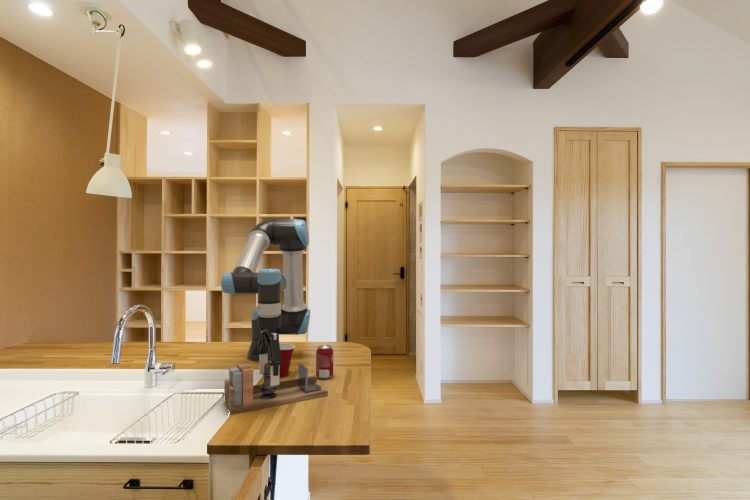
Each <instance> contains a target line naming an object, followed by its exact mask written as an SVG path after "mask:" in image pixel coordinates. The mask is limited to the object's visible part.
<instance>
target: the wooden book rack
mask: <svg viewBox="0 0 750 500" xmlns="http://www.w3.org/2000/svg"><path fill="white" fill-rule="evenodd" d="M313 382H314V383H315V384H316V385H318V386H319V387H320V388H321V390H316V391H310V392H304V391H303V390H302V389H301V388H300V387H299V386H298V377H297V378H292V379H291V378H290V379H285V380H279V385H278V386H277V388H276V391H275V392H274V393H275V394H277V396H276V397H275V398H272V399H262V398H261V397H260V396H261V395H262V394H264V393H262V392H261V389H260V387H259V386H260V385H261V384H262V383H260V384H255V385H254V368H252V366H250V364H249V363H248V362H246V361H245V362H239V363H237V364H236V366H232V367H229V368H228V378H226V379H224V395H223V396H224V397H223V401H224V405H225V406H226V408H227V410H228V412H229V413H230V415H234V414H233V413H237V414H241V412H242V413H246V412H251V411H255V410H257V411H258V410H262V409H266V408H272V407H277V406H281V405H287V404H292V403H297V402H302V401H308V400H312V399H318V398H323V397H328V396H329V391H328V390H327V389H326V388H324V387H323V386H322V385H320V384H319V383H318V377H317V376H316V374H315V375H310V376H309V375H308V383H313Z"/></svg>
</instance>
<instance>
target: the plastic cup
mask: <svg viewBox="0 0 750 500" xmlns="http://www.w3.org/2000/svg"><path fill="white" fill-rule="evenodd" d="M279 344H280V352H281V359H282V364H280V365H279V378H282V377H283V378H284V377H288V375H289V373H290V367H291V364H292V363H291V361H292V357H293V356H292V355H293V353H294V350H295V349H296V345H294V344H291V343H286V342H284V343H283V342H279ZM276 361H277V360H276Z"/></svg>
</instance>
